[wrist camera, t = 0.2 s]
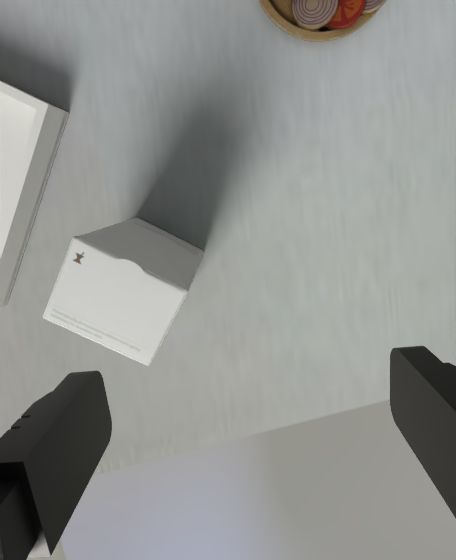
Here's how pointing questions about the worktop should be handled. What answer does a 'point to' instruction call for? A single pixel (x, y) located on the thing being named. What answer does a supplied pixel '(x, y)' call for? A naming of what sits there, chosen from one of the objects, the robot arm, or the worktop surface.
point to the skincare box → (124, 287)
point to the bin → (23, 171)
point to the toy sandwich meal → (320, 17)
